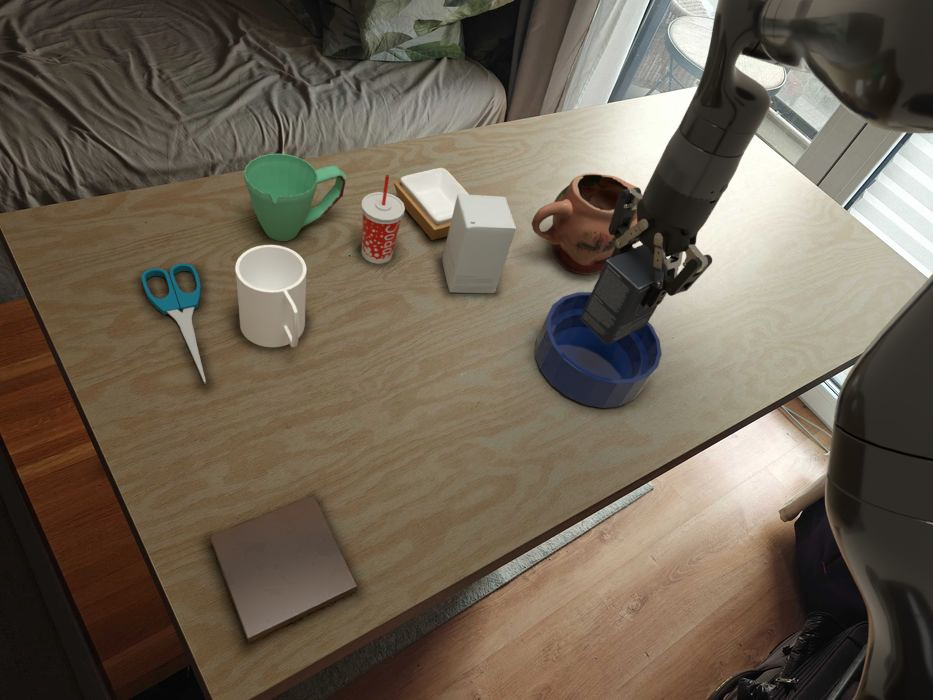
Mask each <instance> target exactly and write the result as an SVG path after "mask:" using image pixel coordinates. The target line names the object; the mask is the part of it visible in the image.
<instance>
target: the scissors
mask: <svg viewBox="0 0 933 700" xmlns="http://www.w3.org/2000/svg"><path fill="white" fill-rule="evenodd" d="M180 272H189V273H191V274H192V277H193V278H194V280H195V283H196V288H195V290H194V291H193V292H190V293H189V292H184V291H183V290H181V288H180V287H179V285H178V283H177V281H176V278H175V275H176V274H178V273H180ZM155 276H156V277H157V276H159V277H163V278H164V279H165V281H166V283H167V286H168V294H167V295H166V296H164V297H163V298H158V297H155V296H154V295H153V294H152V292H151V291H150V288H149V287H148V284H147V281H148V279H150V278H152V277H155ZM141 282H142V286H143V290H144V293H145V296H146V297H147V299H148V300H149V302H150V304H151V305H153V306H154V307H155V309H156V310H158V311H159V312H160V313H161V314H163V315H164V316H167V315H169V316H170V317H171V318H172V319H173V320H174V321H175V322H176V323H177V325H178V326H179V329H180V331H181V334H182V337H183V339H184V341H185V343H186V345H187V347H188V349H189V352H190V354H191V356H192V358H193V360H194V363H195V366H196V367H197V370H198V372H199V375H200V377H201V379H202V381H203V384H204V385H206V384H207V381H206V377H205V372H204V369H203V364H202V360H201V357H200V352H199V347H198V344H197V339H196V338H197V337H196V334H195V329H194V325H193V316H194V312H195V310H196V309H198V308H199V305H200V302H201V294H202V287H201V282H200V276H199V274H198V272H197V269H196V268H195V266H194V265H192V264H190V263H177V264H175V265H173V266H172V267H170V270H169V273H168V271H167V270H166V269H164V268H159V267H154V268H153V267H151V268H149V269H146V270H145V271H144V272H142V275H141Z"/></svg>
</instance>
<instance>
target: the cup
mask: <svg viewBox="0 0 933 700" xmlns="http://www.w3.org/2000/svg"><path fill="white" fill-rule="evenodd" d="M235 262H236V263H235V267H234V268H235V279H236V280H235V281H236V292H237V303H238V315H239V316H238V317H239V327H240V331H241V333H242V334H243V337H245V338H246V339H247V340H248V342H251V343H253V344H255V345H257V346H259V347H265V348H280V347H284V346H287V345H290V347H291V348H296V347H298V344H299V338H300V337H302V335H303V333H304V330H305V326H306V300H307V298H306V297H307V265H306V262H305V260H304V259H303V257H302V256H301V255H300V254H299V253H297V252H296V251H295V250H293V249H291V248H288V247H286V246H283V245H278V244H262V245H257V246H255V247H251V248H249V249H247V250H245V251H244V252H243V253H242V254H241V255H240V256H238V259H237V260H236V261H235Z"/></svg>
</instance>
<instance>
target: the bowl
mask: <svg viewBox="0 0 933 700" xmlns="http://www.w3.org/2000/svg"><path fill="white" fill-rule="evenodd" d="M591 293H592V291H591V292H590V291H587V292H586V291H585V292H583V291H582V292H581V291H580V292H573V293H570V294H566V295H564V296H562V297H561V298H559V299H558V300H557V301H556V302H554V303H553V304H552V305H551V307H550V309H549V311H548V313H547V315H546V317H545V319H544V322H543V324H542V326H541V329H540V330H539V334H538V335H537V338H536V340H535V346H534V347H535V348H534V350H535V351H534V356H535V360H536V363H537V366H538V368H539V370H540V372H541V374H542V375H543V376H544V377H545V379H546V380H547V382H548V383H549V384H550V385H551V387H553V388H555V389H556V390H557V391H558V392H560V393H561V394H562V395H564V397H567V398H569V399H571V400H573V401H575V402H577V403H579V404H581V405H584V406H590V407H594V408H600V409H607V408H608V409H609V408H619V407H622V406H625V405H626V404H628V403H630V402H632V401H634V400H635V399H636V397H637V396H638V395H640V394H641V392H642V391H643V390H644V388H645V387H646V385H647V384H648V382H649V381H650V380H651V378H652V377H653V374H654V373H655V372H656V371H657V369H658V368H659V365H660V362H661V358H662V347H661V340H660V338H659V336H658V334H657V332H656V330H655V328H654V326H653V325H652V324H651V323H650V321H648V323H647V325H646V326H644V327H642V328H640V329H639V330H637V331H635V332H633V333H631V334H629V335H627V336H625V337H624V338H622V339H620V340H618V341H616V342H614V343H612V344H610V345H606V344H605V343H604V342H603V341H602V340H601V339H600V338H599V337H598V336H597V335H596V334H595V333H594V332H593V331H592V330H591V329H590V328H589V327H588V326H587V325H586V324H585V323H584V322H583V321H582V320H581V319H580V316H581V314H582V312H583V310H584V307H585V305H586V303H587V301H588V299H589V297H590V295H591Z"/></svg>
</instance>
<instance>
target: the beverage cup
mask: <svg viewBox="0 0 933 700" xmlns="http://www.w3.org/2000/svg"><path fill="white" fill-rule="evenodd" d="M389 181H390V175H389V174H386V175H385V178H384V185H383V191H382V192H380V191H375V192H372V193H368V194H367V195H365V196H364V197H363V199H362V201H361V204H360V205H361V213H362V221H361V222H362V225H361V255H362V257H363V259H365V260H366V261H368V263H373V264H375V265H377V264H378V265H381V264H385V263H388V262H389V261H390V260H392V257H393V254H394V249H395V246H396V241H397V237H398V232H399V229H400V224H401V220H402V219H403V217H404V214H405V210H406V209H405V207H404V203H403V202H402V201H401V200H400V199H399V198H398V196H396V195H394V194H391V193H388V188H389Z"/></svg>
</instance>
